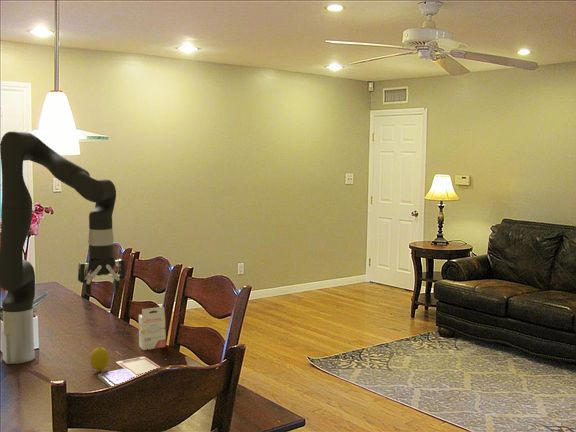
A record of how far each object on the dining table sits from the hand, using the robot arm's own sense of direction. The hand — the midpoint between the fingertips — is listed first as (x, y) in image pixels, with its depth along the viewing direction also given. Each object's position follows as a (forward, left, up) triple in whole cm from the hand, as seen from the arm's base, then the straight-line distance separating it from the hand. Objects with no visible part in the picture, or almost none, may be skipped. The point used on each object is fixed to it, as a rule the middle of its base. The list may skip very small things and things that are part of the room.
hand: (102, 293), depth 199 cm
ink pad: (0, -14, -24) cm, 28 cm away
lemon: (-2, -2, -25) cm, 25 cm away
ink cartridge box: (+22, +12, -25) cm, 35 cm away
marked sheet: (+10, -6, -24) cm, 27 cm away
